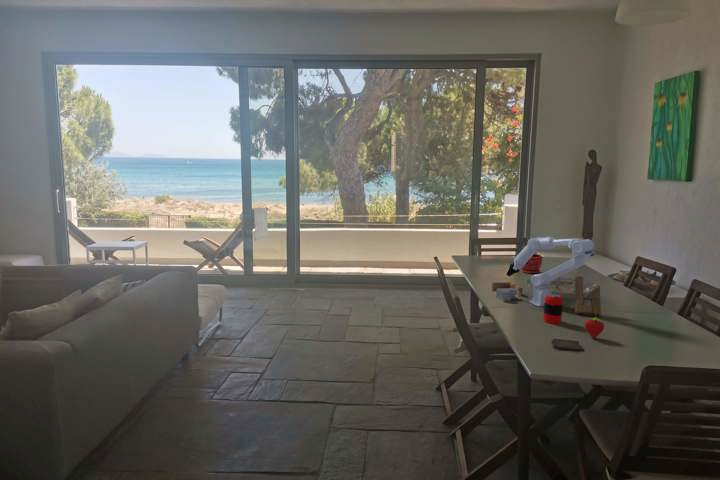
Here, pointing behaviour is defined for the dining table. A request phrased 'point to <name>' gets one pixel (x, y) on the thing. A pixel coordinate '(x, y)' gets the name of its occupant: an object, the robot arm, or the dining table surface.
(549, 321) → the soda can
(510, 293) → the bracket
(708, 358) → the dining table surface
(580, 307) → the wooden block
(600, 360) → the dining table surface
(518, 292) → the corner fence
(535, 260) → the plant pot
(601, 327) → the strawberry
